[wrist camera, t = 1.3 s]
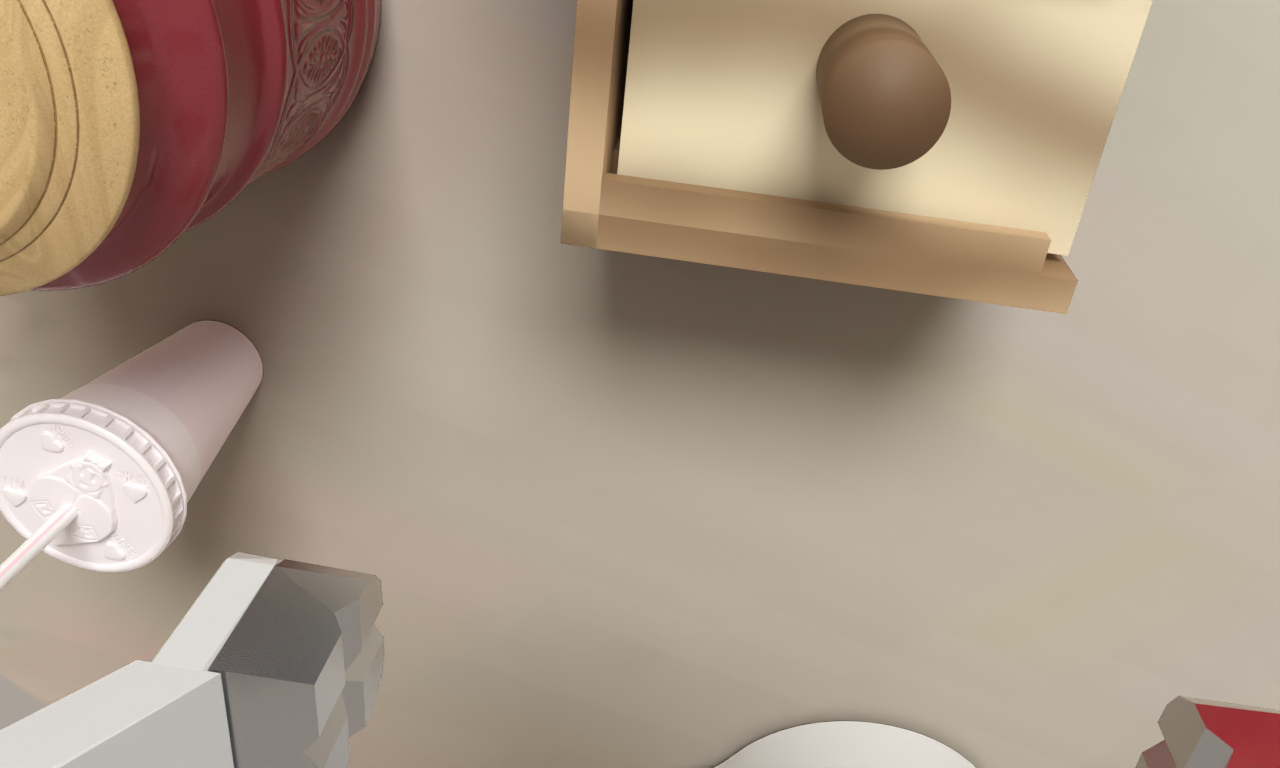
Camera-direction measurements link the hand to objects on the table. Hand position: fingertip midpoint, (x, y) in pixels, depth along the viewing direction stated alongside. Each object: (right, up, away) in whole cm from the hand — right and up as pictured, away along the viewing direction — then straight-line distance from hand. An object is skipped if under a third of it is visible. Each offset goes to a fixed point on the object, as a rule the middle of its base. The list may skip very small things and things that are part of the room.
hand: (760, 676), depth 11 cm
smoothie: (-18, +4, +31) cm, 36 cm away
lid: (+5, +12, +17) cm, 21 cm away
